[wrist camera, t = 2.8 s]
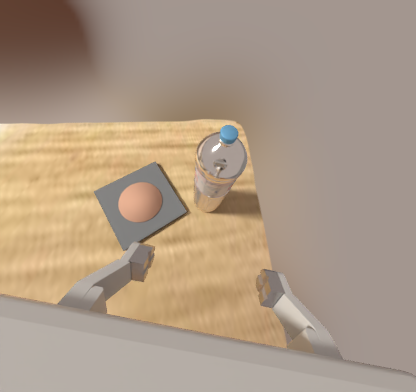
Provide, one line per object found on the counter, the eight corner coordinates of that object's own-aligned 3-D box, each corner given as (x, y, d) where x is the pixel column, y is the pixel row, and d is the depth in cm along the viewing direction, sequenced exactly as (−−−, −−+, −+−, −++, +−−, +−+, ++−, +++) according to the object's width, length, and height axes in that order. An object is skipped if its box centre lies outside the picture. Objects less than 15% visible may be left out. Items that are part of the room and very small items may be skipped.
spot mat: (186, 212, 37) (186, 211, 36) (125, 250, 33) (122, 250, 32) (156, 163, 40) (154, 161, 39) (96, 192, 36) (93, 191, 35)
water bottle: (208, 218, 37) (236, 175, 14) (188, 201, 38) (181, 131, 15) (224, 199, 39) (274, 132, 16) (205, 182, 40) (224, 96, 17)
